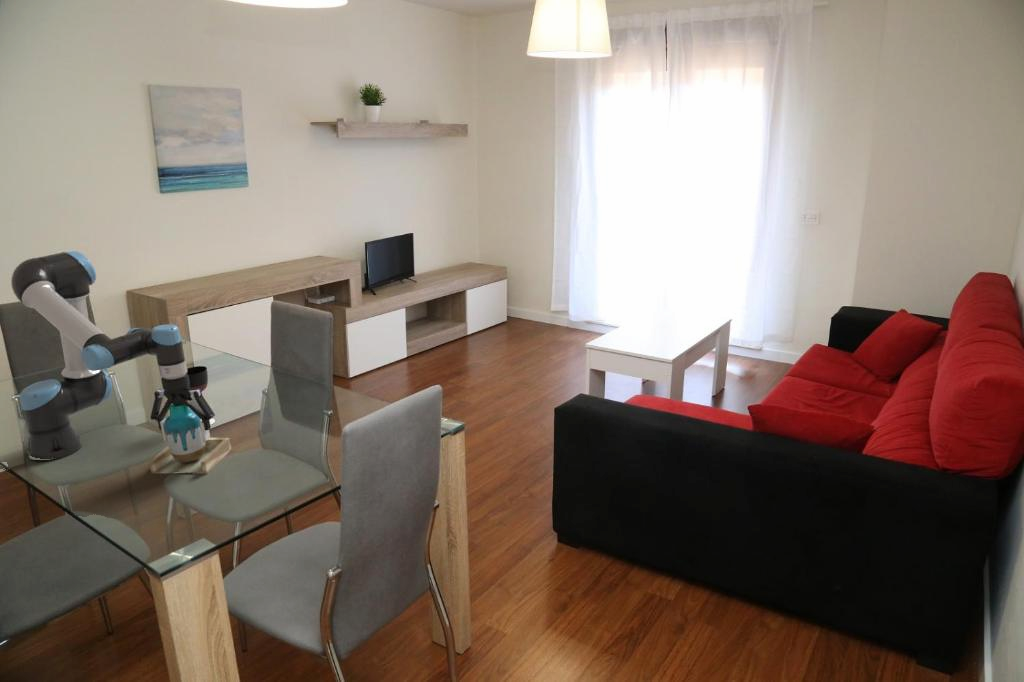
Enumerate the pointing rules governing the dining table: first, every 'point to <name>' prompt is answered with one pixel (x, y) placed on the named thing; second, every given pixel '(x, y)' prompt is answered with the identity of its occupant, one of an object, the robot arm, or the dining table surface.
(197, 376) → the wineglass
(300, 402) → the dining table surface
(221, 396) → the dining table surface
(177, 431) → the vase
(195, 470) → the rest
